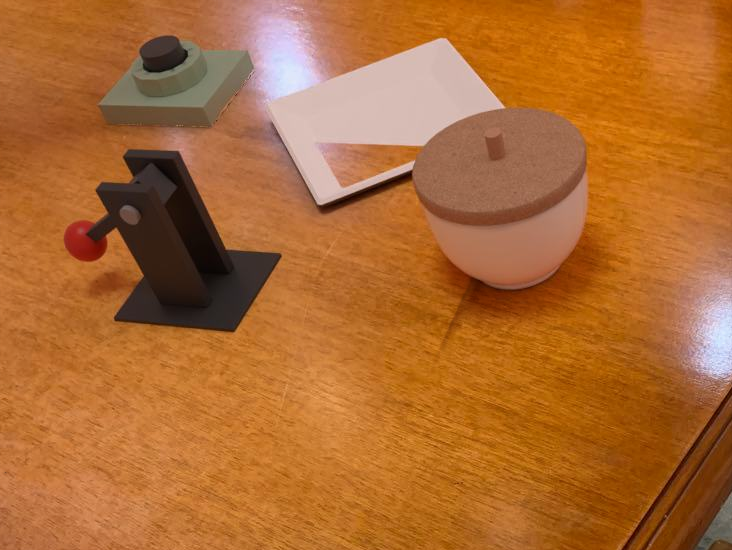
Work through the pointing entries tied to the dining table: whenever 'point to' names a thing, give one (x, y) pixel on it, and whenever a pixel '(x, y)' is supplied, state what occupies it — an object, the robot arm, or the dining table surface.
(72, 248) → the red knobbed lever
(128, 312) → the lever stand
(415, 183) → the lidded bowl
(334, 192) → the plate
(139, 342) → the dining table surface
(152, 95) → the green button base
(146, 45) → the power button
